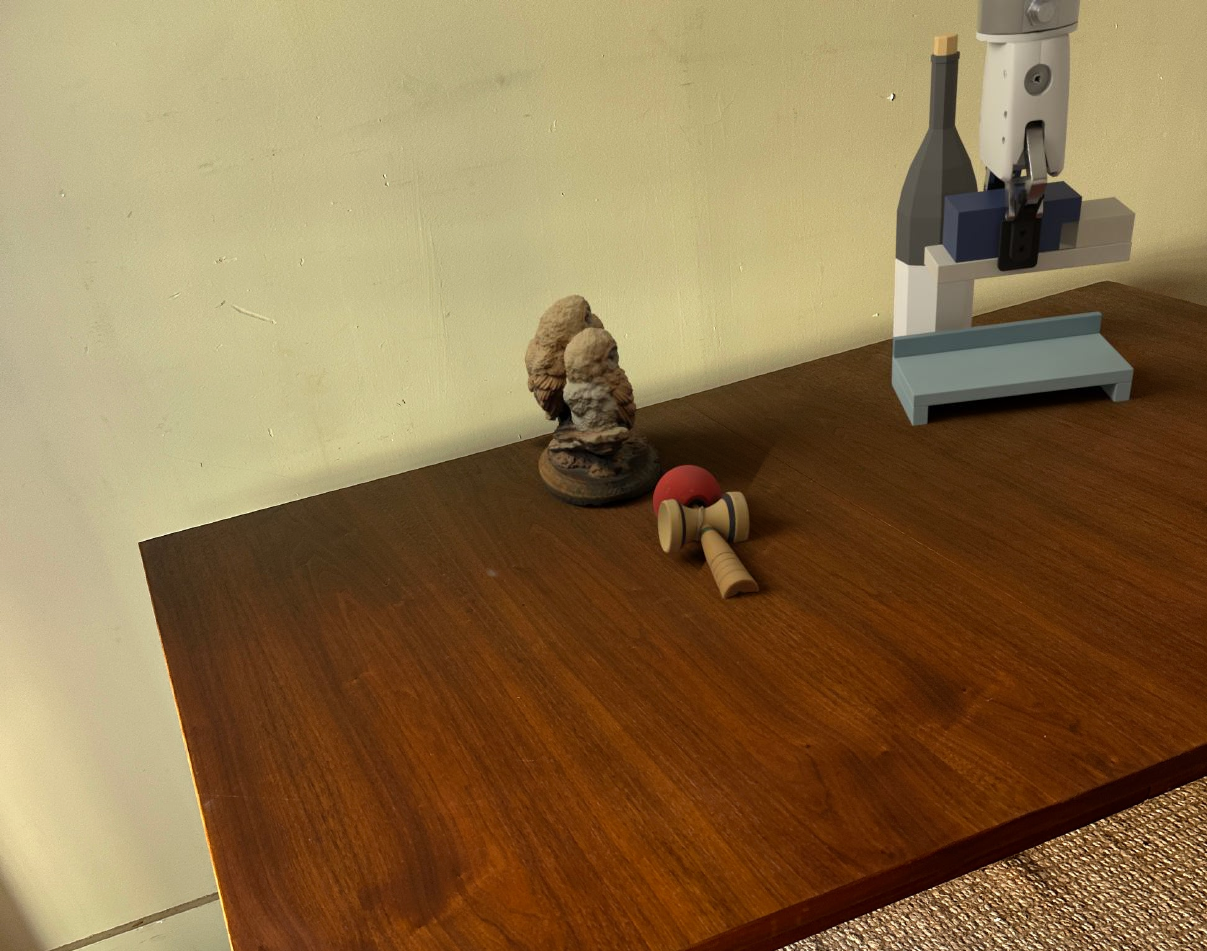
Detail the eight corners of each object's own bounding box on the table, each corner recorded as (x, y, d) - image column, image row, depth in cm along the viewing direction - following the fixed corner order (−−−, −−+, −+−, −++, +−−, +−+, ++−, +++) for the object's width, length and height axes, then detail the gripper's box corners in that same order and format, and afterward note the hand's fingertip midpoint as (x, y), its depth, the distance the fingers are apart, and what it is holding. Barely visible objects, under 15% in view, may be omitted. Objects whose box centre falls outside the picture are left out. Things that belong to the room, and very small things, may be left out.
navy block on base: (1108, 241, 106) (1117, 173, 102) (1129, 260, 101) (1140, 189, 97) (923, 263, 107) (926, 197, 104) (937, 284, 102) (940, 215, 99)
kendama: (797, 610, 95) (726, 494, 108) (785, 549, 91) (712, 434, 103) (707, 646, 96) (646, 525, 108) (690, 586, 91) (628, 467, 103)
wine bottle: (934, 378, 125) (951, 44, 107) (876, 362, 131) (883, 42, 112) (985, 354, 129) (1010, 27, 110) (927, 340, 134) (942, 25, 115)
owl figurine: (685, 496, 111) (668, 307, 100) (563, 524, 110) (533, 336, 99) (634, 429, 125) (614, 257, 114) (525, 453, 124) (495, 281, 113)
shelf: (1090, 374, 121) (1099, 310, 117) (1126, 416, 113) (1137, 348, 109) (891, 398, 123) (892, 336, 119) (911, 441, 114) (914, 375, 110)
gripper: (1112, 19, 85) (1080, 281, 97) (1048, -9, 99) (1026, 225, 110) (1004, 34, 86) (985, 292, 97) (955, 5, 99) (943, 235, 111)
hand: (1007, 254), depth 104 cm, fingers closed on navy block on base, 6 cm apart
